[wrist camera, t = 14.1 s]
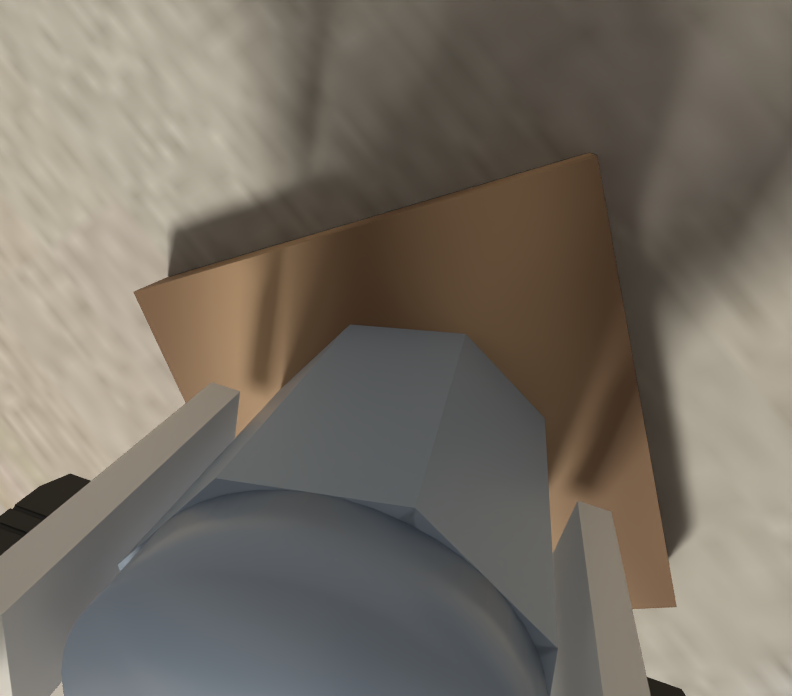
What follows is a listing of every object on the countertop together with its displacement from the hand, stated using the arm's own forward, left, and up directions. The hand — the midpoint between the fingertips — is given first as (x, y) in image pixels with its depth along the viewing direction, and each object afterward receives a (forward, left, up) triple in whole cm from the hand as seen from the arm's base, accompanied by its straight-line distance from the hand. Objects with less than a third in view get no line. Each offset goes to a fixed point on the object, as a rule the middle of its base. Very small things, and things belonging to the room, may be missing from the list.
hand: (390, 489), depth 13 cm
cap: (0, 0, -2) cm, 2 cm away
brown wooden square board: (0, 0, -3) cm, 3 cm away
